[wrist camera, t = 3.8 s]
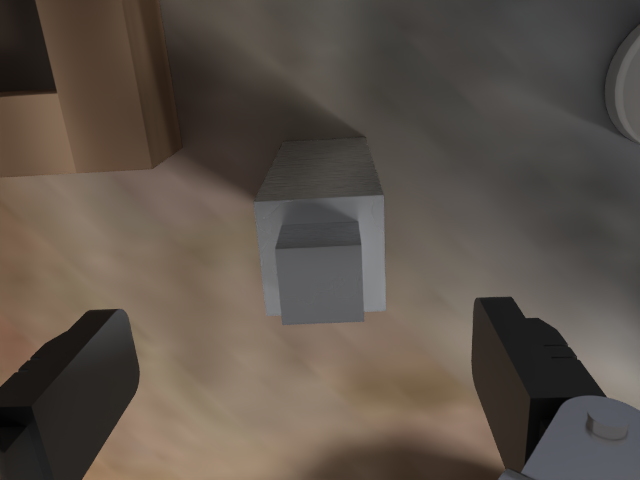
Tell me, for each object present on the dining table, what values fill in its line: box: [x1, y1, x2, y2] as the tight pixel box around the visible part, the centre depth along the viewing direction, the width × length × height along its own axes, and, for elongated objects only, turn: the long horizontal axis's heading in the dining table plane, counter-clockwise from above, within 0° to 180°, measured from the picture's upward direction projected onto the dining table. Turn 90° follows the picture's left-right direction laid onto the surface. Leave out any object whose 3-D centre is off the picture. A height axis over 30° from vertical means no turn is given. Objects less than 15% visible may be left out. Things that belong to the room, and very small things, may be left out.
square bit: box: [254, 137, 386, 325], centre depth 20 cm, size 4×4×12 cm
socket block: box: [0, 0, 182, 177], centre depth 21 cm, size 12×12×4 cm
